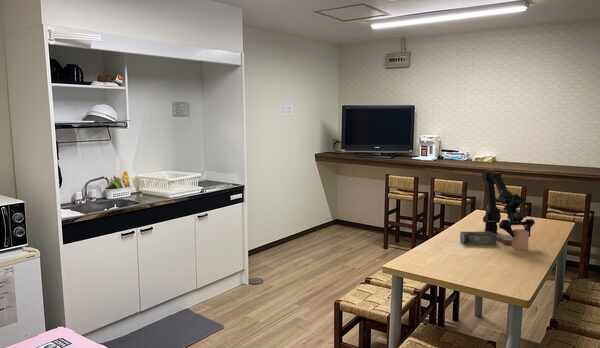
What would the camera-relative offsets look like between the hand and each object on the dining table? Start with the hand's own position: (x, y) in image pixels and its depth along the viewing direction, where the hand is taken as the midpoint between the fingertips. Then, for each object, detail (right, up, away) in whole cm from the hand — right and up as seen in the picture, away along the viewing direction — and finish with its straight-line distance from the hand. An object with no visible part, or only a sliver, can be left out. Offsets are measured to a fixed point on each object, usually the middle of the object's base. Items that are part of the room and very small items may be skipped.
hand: (521, 236), depth 250 cm
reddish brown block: (0, -7, +2) cm, 7 cm away
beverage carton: (-20, -6, +12) cm, 24 cm away
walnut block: (-1, -5, +14) cm, 15 cm away
